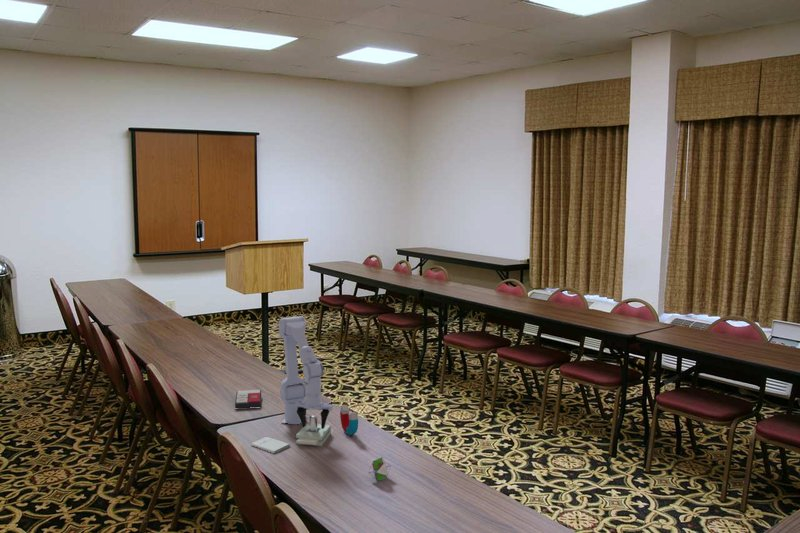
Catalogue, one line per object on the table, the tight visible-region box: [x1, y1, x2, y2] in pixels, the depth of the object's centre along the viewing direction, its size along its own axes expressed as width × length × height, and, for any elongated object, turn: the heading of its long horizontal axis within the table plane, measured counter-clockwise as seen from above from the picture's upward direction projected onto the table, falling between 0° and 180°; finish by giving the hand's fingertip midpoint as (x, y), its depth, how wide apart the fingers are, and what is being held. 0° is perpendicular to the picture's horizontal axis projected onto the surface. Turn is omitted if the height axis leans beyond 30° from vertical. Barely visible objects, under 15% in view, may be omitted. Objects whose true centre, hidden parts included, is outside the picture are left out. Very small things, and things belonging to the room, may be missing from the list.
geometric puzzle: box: [368, 457, 392, 482], centre depth 209 cm, size 7×7×8 cm
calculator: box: [234, 389, 262, 409], centre depth 280 cm, size 11×4×15 cm
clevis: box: [295, 422, 332, 447], centre depth 241 cm, size 14×10×4 cm
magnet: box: [339, 404, 359, 436], centre depth 247 cm, size 12×3×10 cm, turn 29°
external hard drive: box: [250, 436, 291, 454], centre depth 235 cm, size 2×8×12 cm
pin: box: [309, 414, 318, 433], centre depth 241 cm, size 3×3×9 cm
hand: (313, 427), depth 241 cm, fingers open, 7 cm apart
